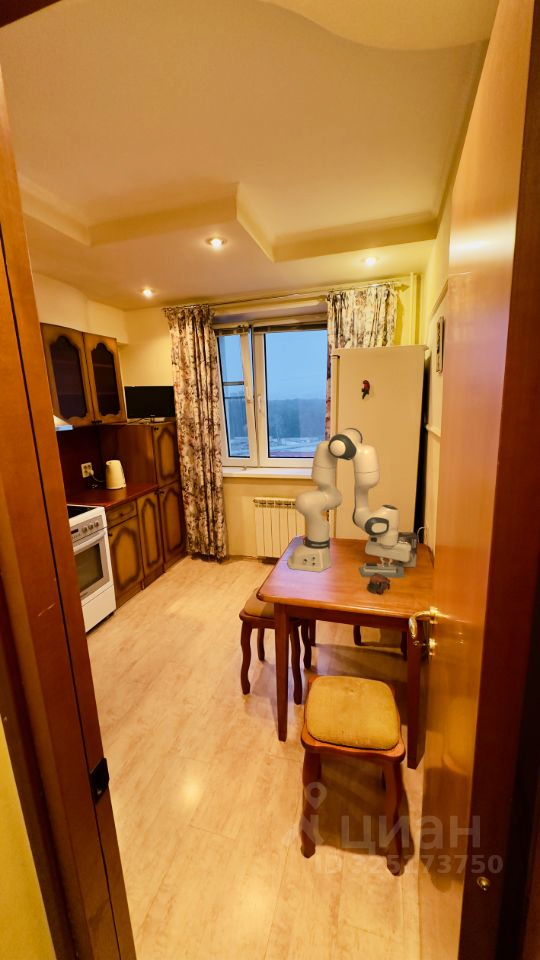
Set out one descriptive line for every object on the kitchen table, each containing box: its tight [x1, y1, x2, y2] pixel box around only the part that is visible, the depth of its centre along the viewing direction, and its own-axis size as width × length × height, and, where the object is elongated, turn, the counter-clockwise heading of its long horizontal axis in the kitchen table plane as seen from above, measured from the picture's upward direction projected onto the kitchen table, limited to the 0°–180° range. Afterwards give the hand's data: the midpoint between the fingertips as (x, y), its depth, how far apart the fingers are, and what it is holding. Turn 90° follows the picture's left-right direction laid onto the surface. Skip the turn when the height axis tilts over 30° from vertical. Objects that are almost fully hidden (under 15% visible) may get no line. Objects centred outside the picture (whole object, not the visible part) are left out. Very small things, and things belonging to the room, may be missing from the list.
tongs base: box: [358, 561, 406, 579], centre depth 174 cm, size 20×8×4 cm, turn 86°
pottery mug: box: [366, 573, 391, 595], centre depth 158 cm, size 12×10×8 cm
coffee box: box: [394, 531, 419, 568], centre depth 181 cm, size 9×6×16 cm
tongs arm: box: [363, 562, 400, 570], centre depth 173 cm, size 16×3×2 cm, turn 86°
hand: (386, 565), depth 173 cm, fingers closed, pressing on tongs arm
